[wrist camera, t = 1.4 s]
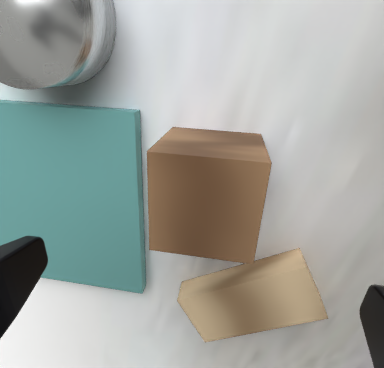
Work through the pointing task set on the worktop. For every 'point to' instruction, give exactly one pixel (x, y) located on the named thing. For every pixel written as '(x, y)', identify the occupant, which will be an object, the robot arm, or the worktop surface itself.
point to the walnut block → (207, 193)
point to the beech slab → (252, 297)
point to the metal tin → (54, 41)
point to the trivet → (75, 190)
